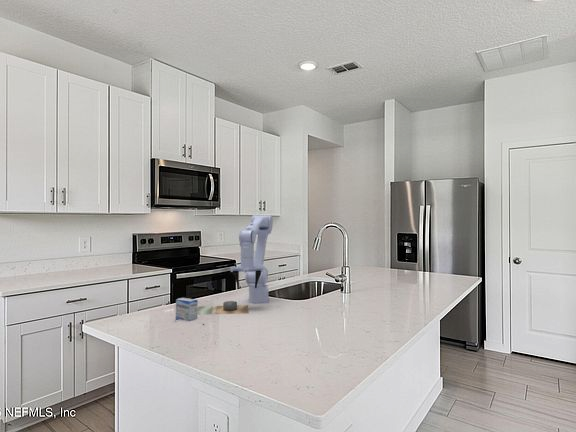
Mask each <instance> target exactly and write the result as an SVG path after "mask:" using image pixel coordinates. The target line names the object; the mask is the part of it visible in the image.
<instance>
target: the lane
mask: <svg viewBox="0 0 576 432" xmlns="http://www.w3.org/2000/svg"><path fill="white" fill-rule="evenodd" d="M232 314H233V315H237V314H249V305H248V304H244V305H243V304H241V305H240V304H239V305H238V304H237V310H235V311H224V310H223V305H202V306H201V305H198V308H197V316H198V315H232Z"/></svg>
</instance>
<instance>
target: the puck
mask: <svg viewBox="0 0 576 432" xmlns="http://www.w3.org/2000/svg"><path fill="white" fill-rule="evenodd" d="M237 305H238V302H237V301H234V300H229V301H223V305H222V306H223V310H224V311H235V310H237Z"/></svg>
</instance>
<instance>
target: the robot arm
mask: <svg viewBox="0 0 576 432" xmlns="http://www.w3.org/2000/svg"><path fill="white" fill-rule="evenodd" d="M273 225H274V224H273V216H272V215H271V214H269V215H267V214H266V215H264V214H261V215H256V214H254V215H252V217H251V222H250V223H249V224H248V225H247V226H246V227H245V229H242V230H241V231H239V234H238V240H239V247H240V266H230V273H232V275H233V276H234V277H233V278H234V279H235V282H236V286H237V289H238V290H239V289H240V275H239V274H240V273H241V272H242V273H243V272H244V273H245V276H244V277H245V278H244V280H245V283H246V284H247V286H248V302H249V304H268V303H269V301H270V299H269V298H270V297H269V285H268V284H267V283H268V269H267V267H266V266H265V265H264V260H265V255H266V246H267V242H268V236H269V235H270V234H272V230H273ZM256 238H257V239H256ZM255 243H256V245H255ZM254 246H255V247H254Z"/></svg>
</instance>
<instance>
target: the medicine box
mask: <svg viewBox="0 0 576 432" xmlns="http://www.w3.org/2000/svg"><path fill="white" fill-rule="evenodd" d="M198 302H199V300H198V299H193V298H187V297H180V298H177V299H175V321H176V320H177V321H178V320H183V321H184V320H185V321H188V322H191V321H193V320H197V319H198V315H197V308H198V306H199V305H198ZM177 321H176V322H177Z"/></svg>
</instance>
